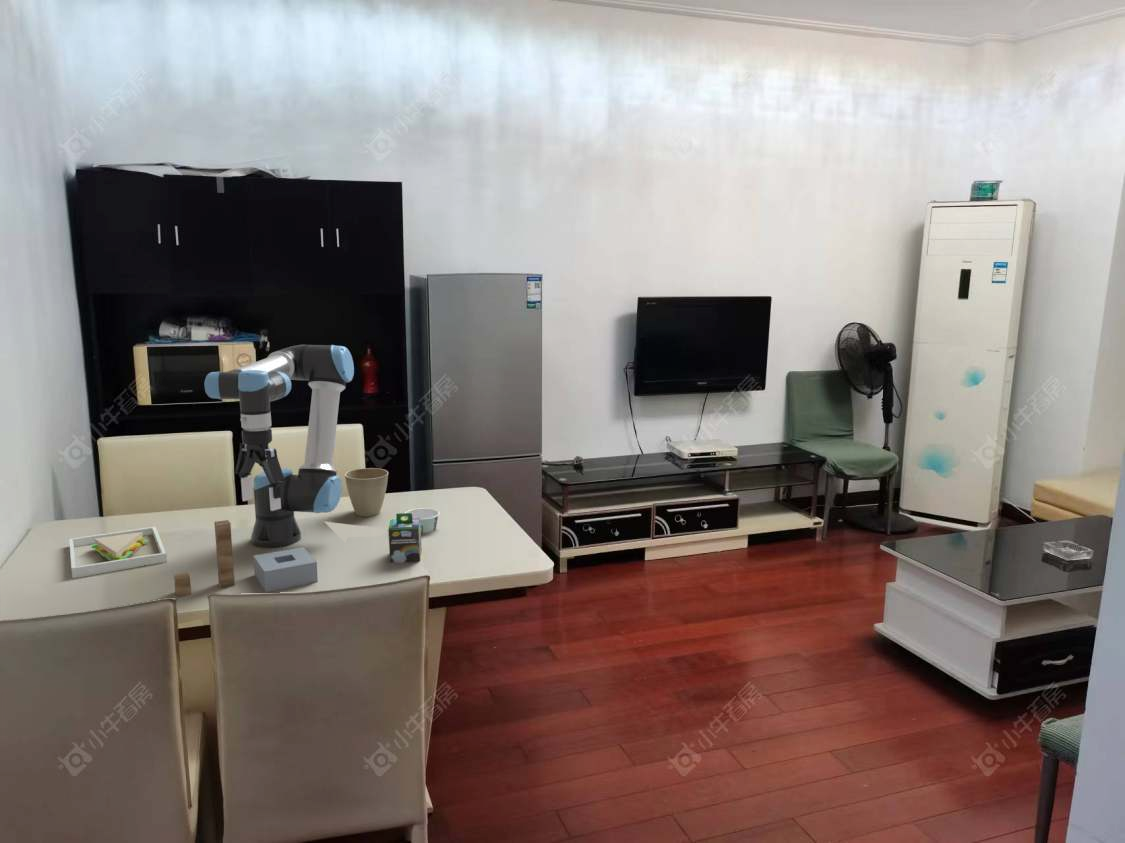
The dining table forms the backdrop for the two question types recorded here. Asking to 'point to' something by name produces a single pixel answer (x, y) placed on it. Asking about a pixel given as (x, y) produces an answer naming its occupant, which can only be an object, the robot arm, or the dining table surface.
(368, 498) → the plant pot
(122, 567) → the sandwich plate rim
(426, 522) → the food container
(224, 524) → the long wooden block
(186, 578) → the short pin
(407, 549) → the chalk box
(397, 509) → the dining table surface
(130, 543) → the sandwich
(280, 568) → the hole block
